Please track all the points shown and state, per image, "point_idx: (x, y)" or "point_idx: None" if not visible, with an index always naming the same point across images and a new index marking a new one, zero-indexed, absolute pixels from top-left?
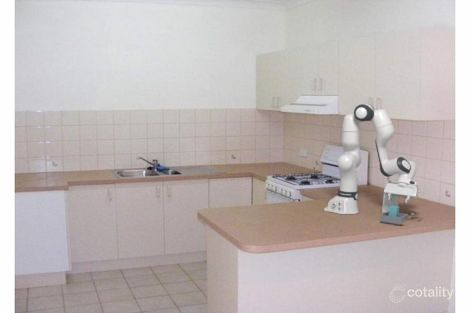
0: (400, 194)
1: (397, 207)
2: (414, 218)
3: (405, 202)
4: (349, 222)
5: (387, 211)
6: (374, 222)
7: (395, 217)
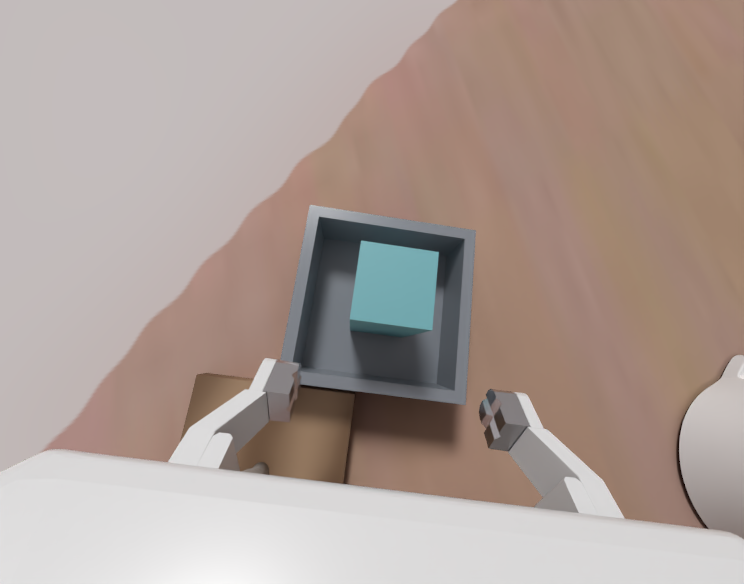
0: (373, 488)
1: (359, 263)
2: (243, 467)
3: (274, 360)
4: (600, 177)
5: (465, 394)
6: (485, 250)
7: (354, 212)
